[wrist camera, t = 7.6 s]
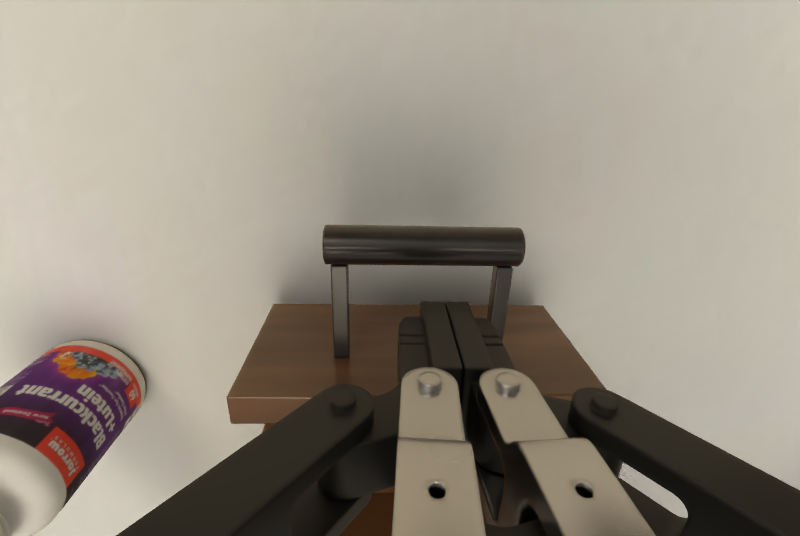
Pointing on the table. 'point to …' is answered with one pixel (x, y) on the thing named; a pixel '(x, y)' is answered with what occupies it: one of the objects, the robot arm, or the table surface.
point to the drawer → (392, 333)
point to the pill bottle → (60, 428)
